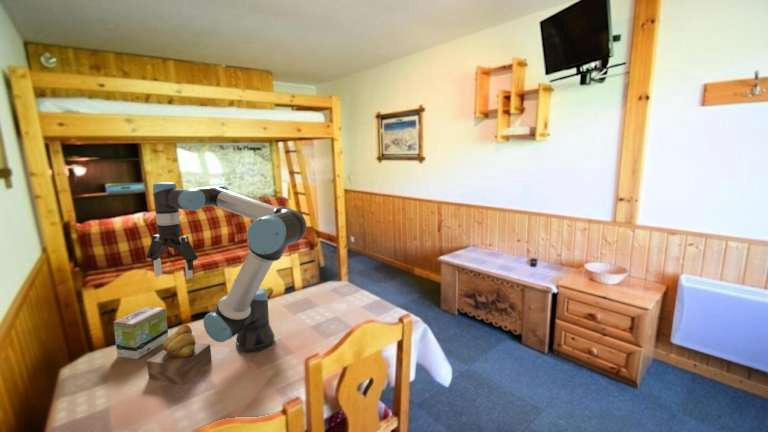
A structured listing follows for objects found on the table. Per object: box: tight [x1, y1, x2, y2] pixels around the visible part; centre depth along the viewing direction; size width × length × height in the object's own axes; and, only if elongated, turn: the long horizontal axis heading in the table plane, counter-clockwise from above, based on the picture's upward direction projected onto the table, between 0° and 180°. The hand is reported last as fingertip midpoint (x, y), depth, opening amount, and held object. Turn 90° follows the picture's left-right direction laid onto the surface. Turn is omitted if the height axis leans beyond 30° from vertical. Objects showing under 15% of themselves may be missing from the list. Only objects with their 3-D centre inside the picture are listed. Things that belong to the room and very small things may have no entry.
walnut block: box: [146, 341, 212, 386], centre depth 125 cm, size 14×14×7 cm
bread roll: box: [162, 324, 196, 357], centre depth 123 cm, size 13×10×8 cm
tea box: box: [113, 305, 169, 360], centre depth 138 cm, size 15×10×15 cm
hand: (174, 276), depth 134 cm, fingers open, 13 cm apart
